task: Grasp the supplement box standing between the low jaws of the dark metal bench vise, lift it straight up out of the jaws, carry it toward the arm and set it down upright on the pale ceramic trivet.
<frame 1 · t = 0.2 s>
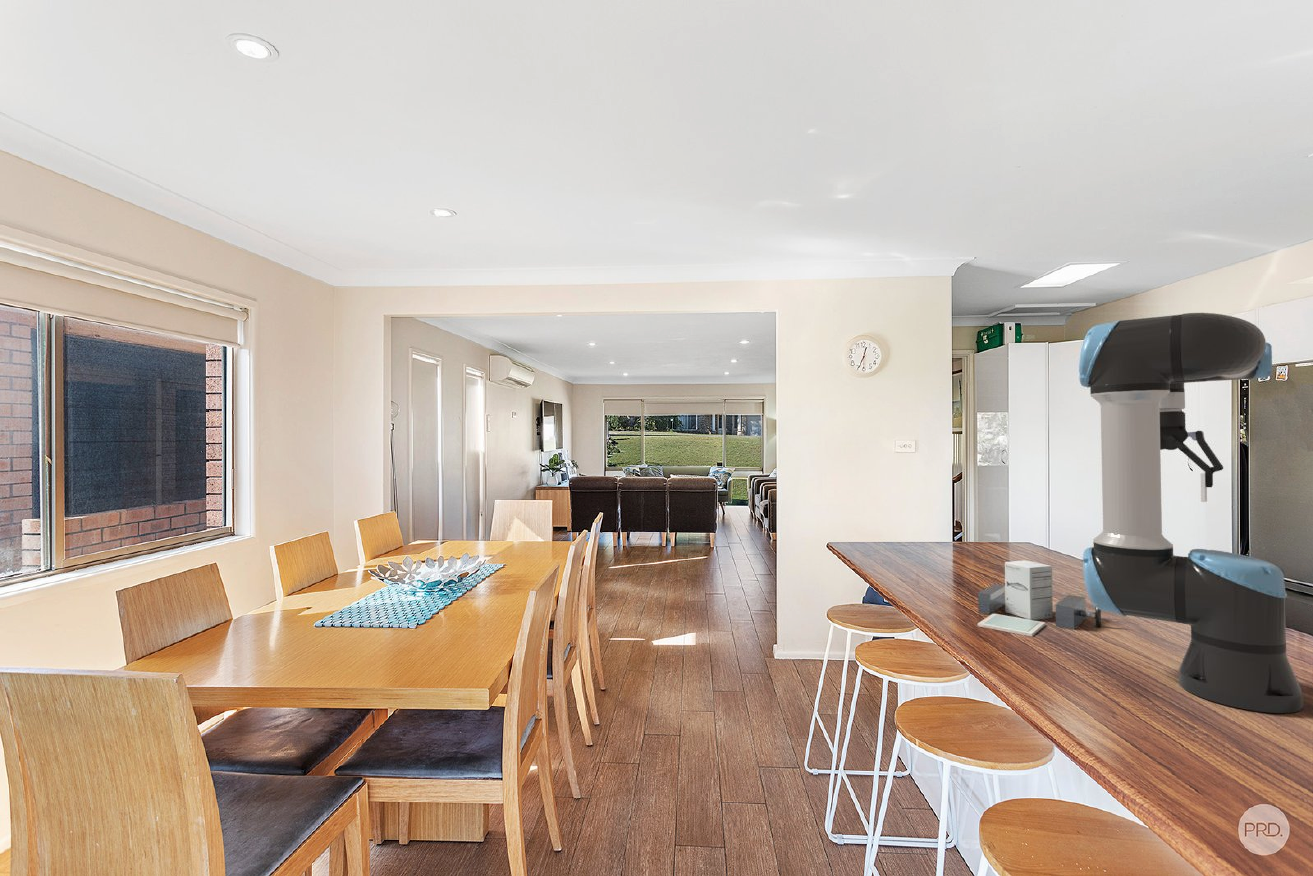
hand: (1166, 499, 147), 28 cm above the table, fingers open, 13 cm apart
vise: (1028, 615, 150), on the table
supplement box: (1028, 616, 150), on the table
trivet: (1011, 625, 142), on the table
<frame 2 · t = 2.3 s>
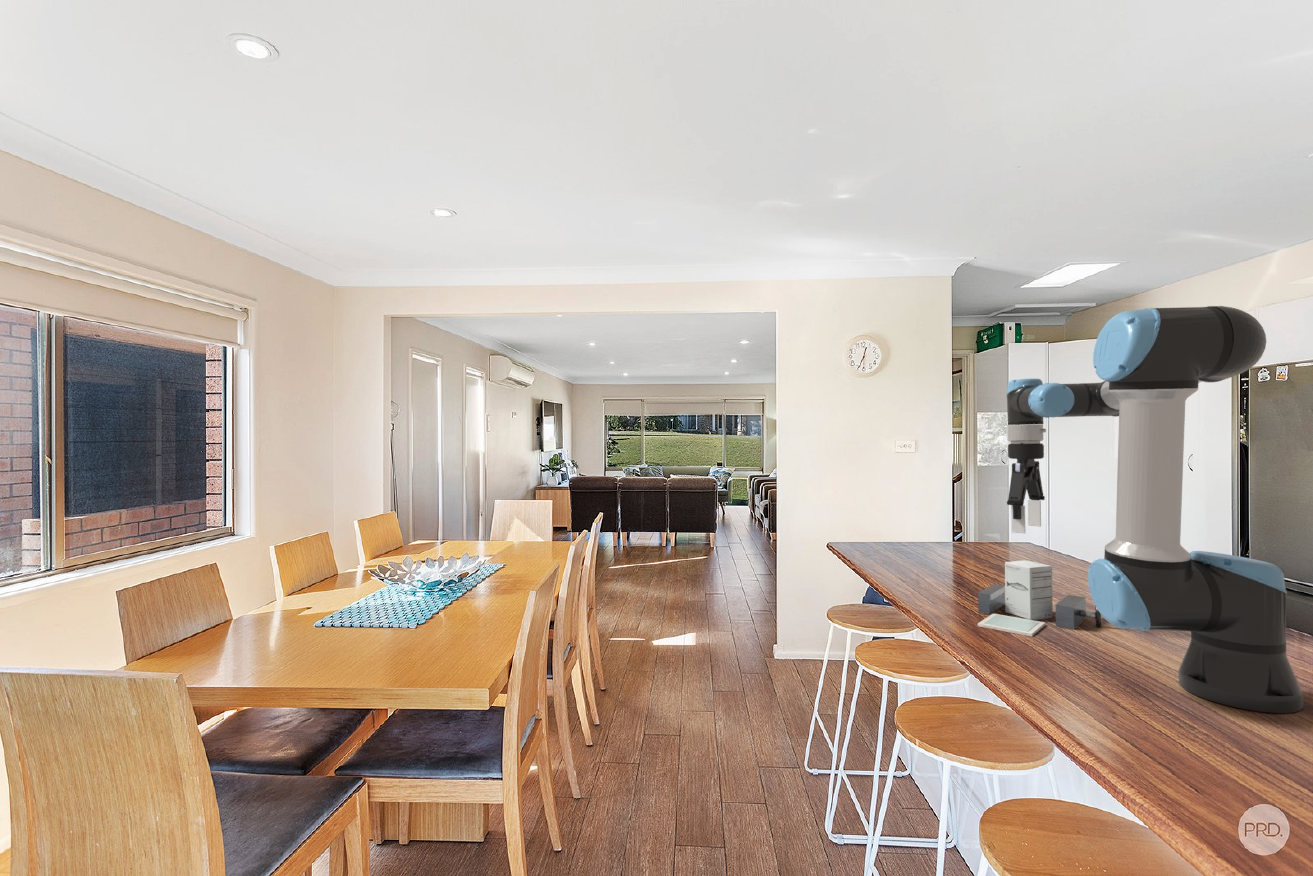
hand: (1026, 529, 150), 21 cm above the table, fingers open, 13 cm apart
nothing on the table moved.
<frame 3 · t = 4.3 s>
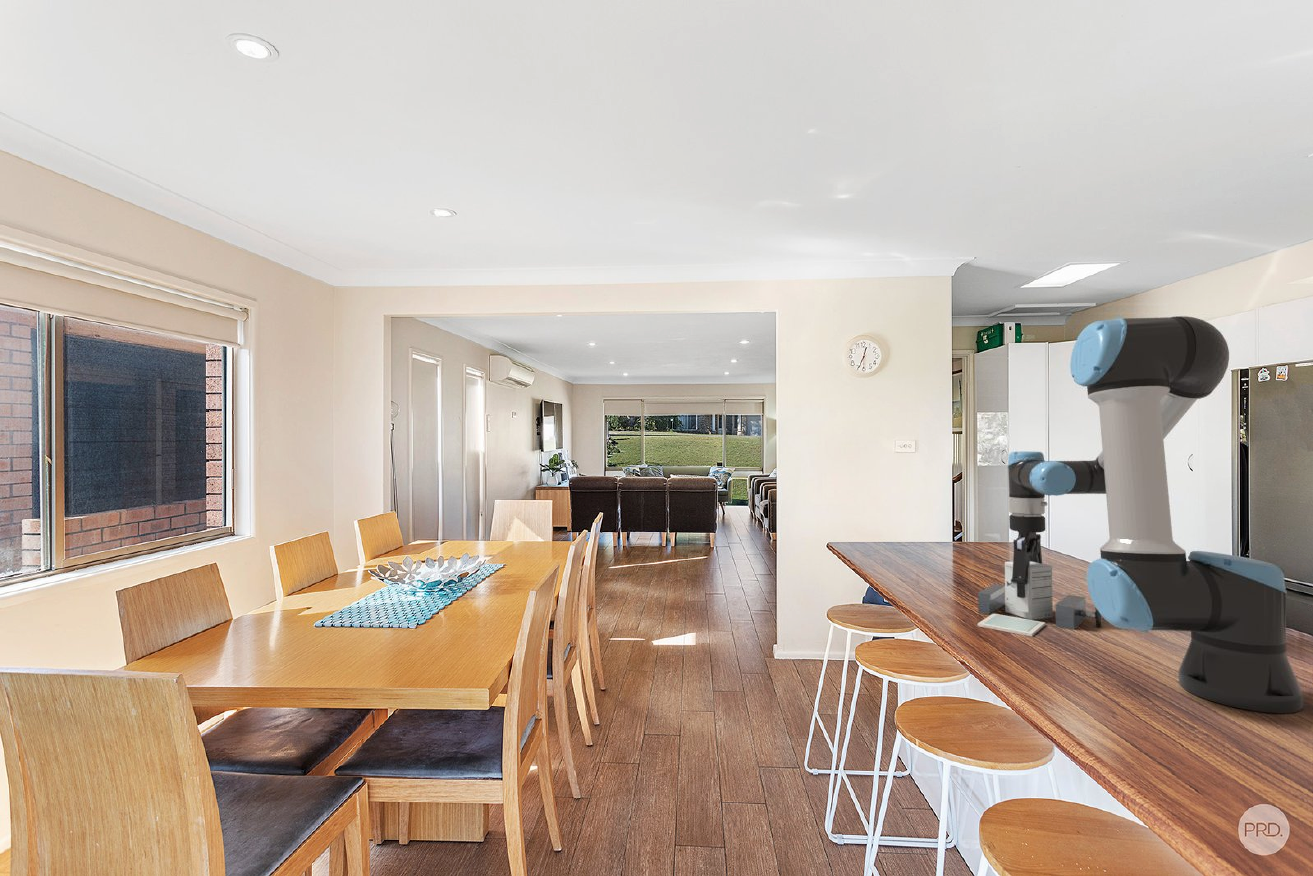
hand: (1028, 606, 150), 2 cm above the table, fingers closed on supplement box, 9 cm apart
supplement box: (1028, 615, 150), on the table, touching gripper
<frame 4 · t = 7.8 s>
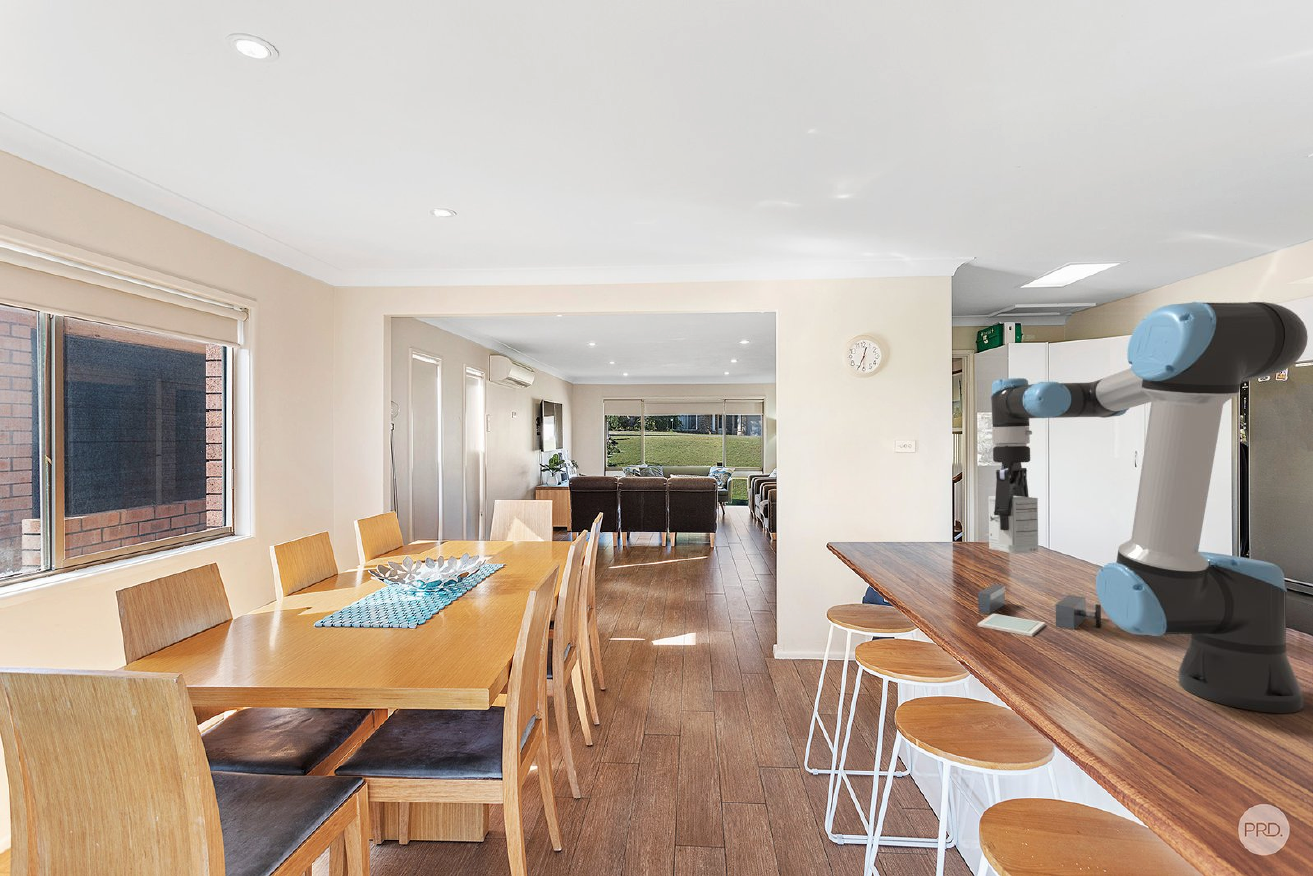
hand: (1013, 541, 142), 19 cm above the table, fingers closed on supplement box, 9 cm apart
supplement box: (1013, 551, 142), point 17 cm above the table, touching gripper
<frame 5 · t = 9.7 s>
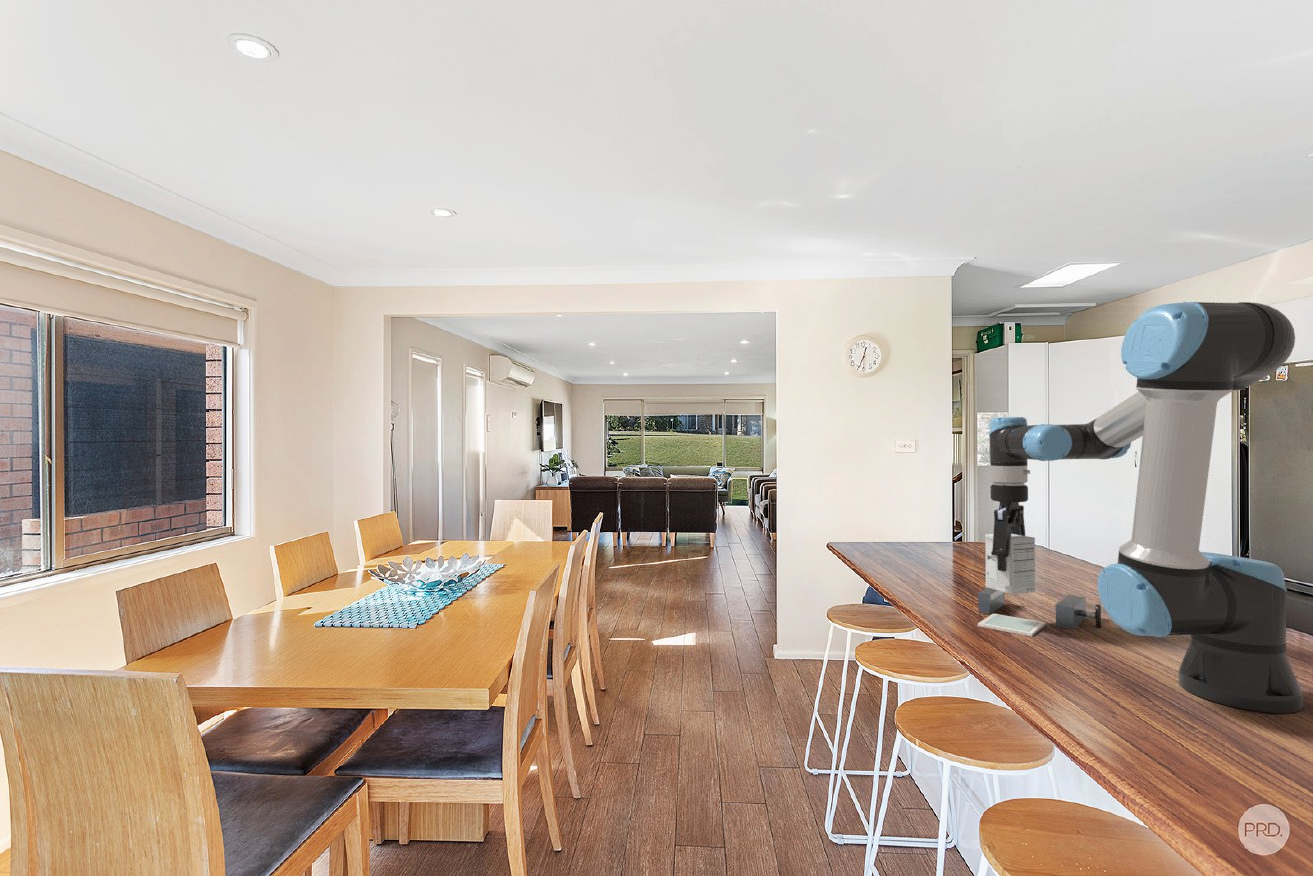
hand: (1010, 580, 142), 10 cm above the table, fingers closed on supplement box, 9 cm apart
supplement box: (1010, 590, 142), point 8 cm above the table, touching gripper
when the fingers open (4 cm above the table, at t = 11.3 s): supplement box drops 1 cm, resting on trivet.
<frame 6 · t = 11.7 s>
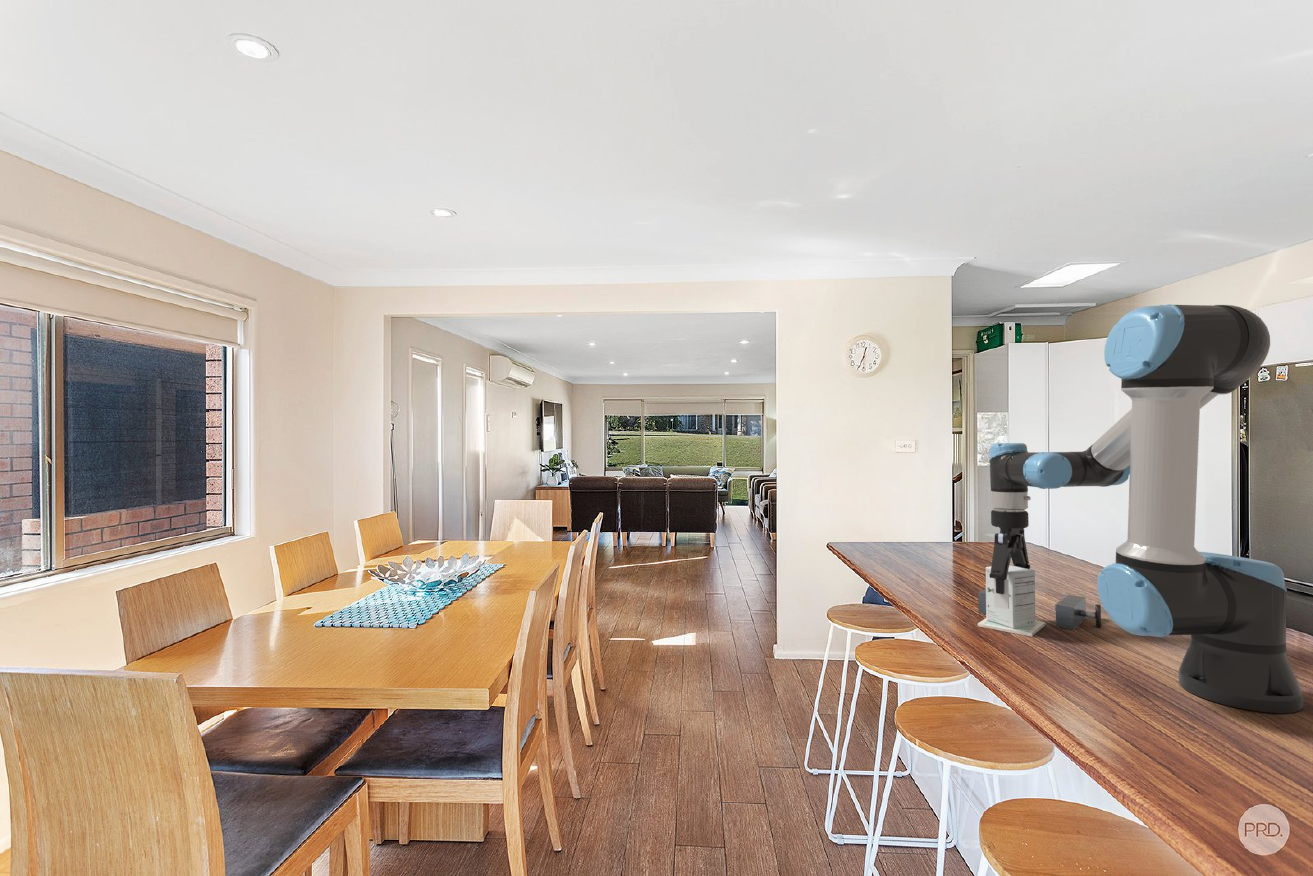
hand: (1011, 602, 142), 5 cm above the table, fingers open, 13 cm apart
supplement box: (1010, 623, 141), point 1 cm above the table, touching trivet
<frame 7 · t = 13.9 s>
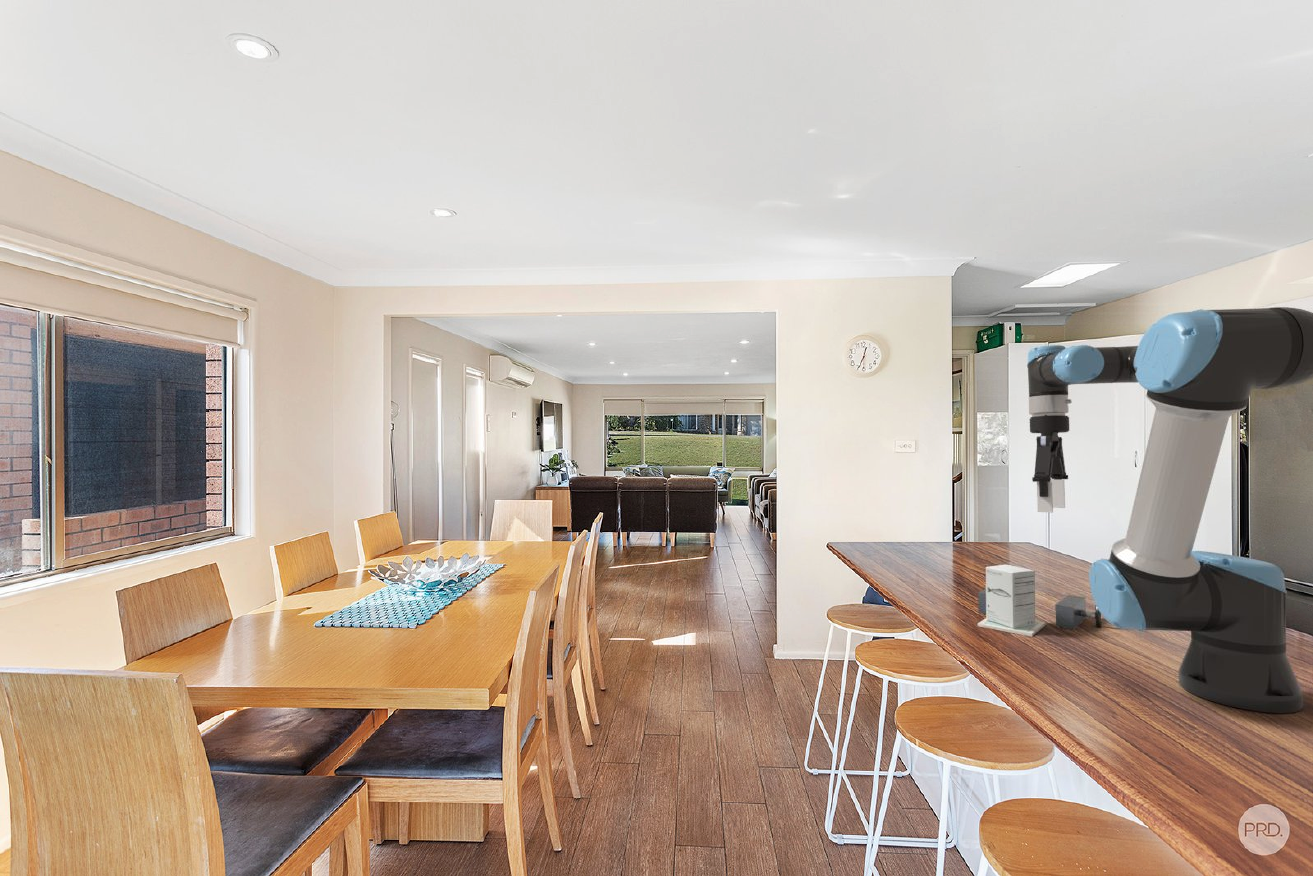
hand: (1051, 510, 138), 27 cm above the table, fingers open, 13 cm apart
nothing on the table moved.
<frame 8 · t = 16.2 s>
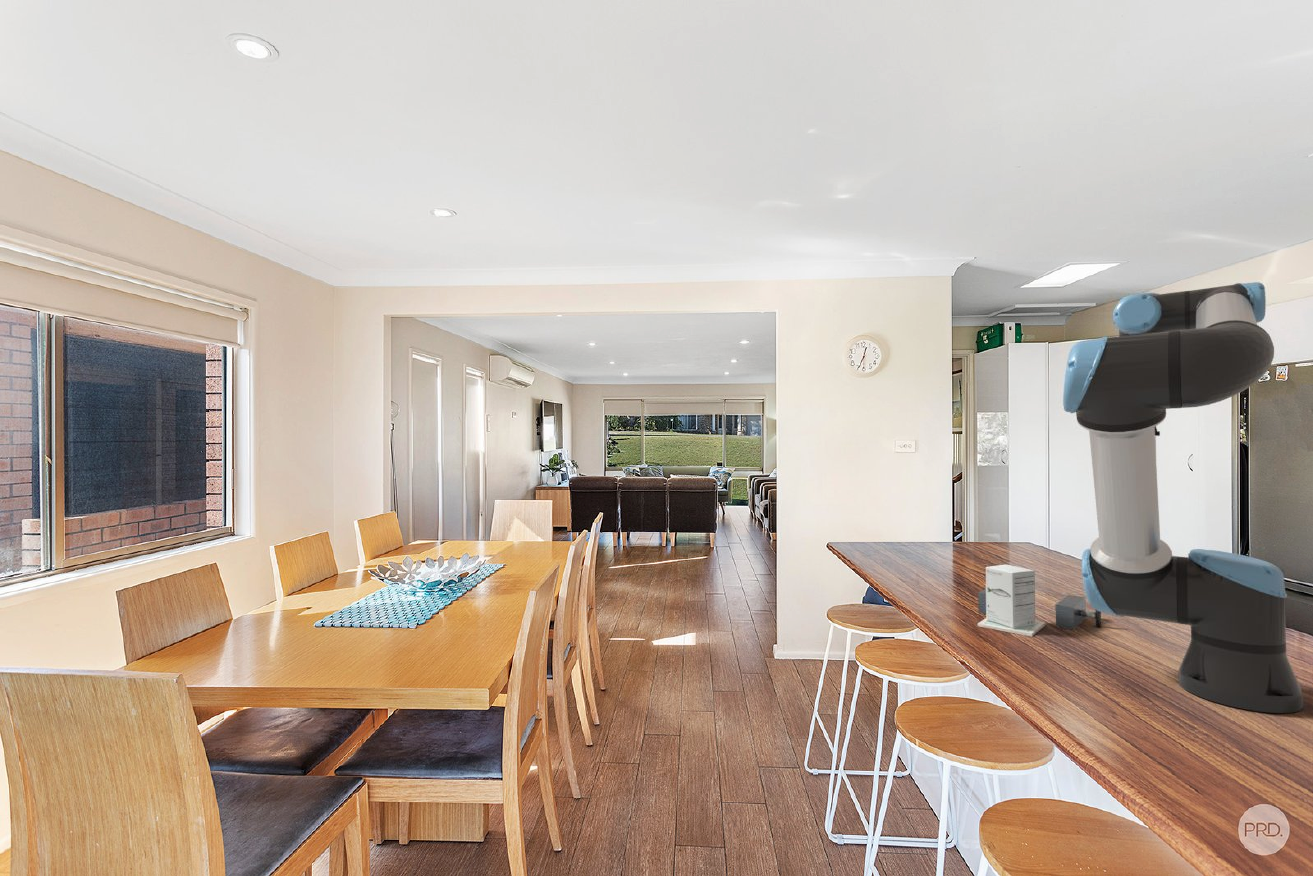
hand: (1143, 467, 131), 37 cm above the table, fingers open, 13 cm apart
nothing on the table moved.
at the end: supplement box inside the target area on the trivet (0.2 cm from its centre), point 0.5 cm above the trivet's base; supplement box tilted 0°; the gripper is holding nothing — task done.
